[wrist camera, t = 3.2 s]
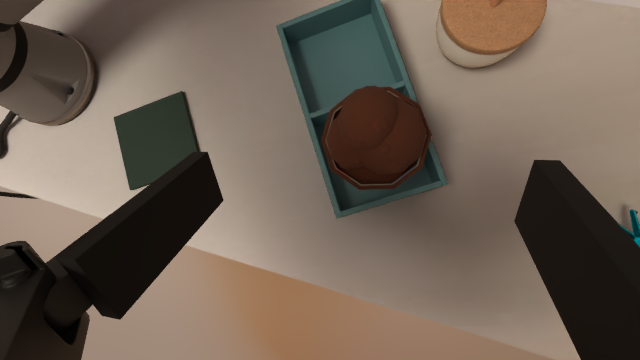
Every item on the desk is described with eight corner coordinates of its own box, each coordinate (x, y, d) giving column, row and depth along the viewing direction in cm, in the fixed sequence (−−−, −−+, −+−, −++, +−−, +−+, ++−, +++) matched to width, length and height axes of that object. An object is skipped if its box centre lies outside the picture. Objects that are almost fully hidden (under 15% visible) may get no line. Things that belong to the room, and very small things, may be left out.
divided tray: (339, 217, 40) (336, 218, 35) (285, 45, 43) (276, 25, 38) (437, 186, 38) (448, 184, 34) (373, 11, 42) (375, -14, 37)
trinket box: (431, 4, 41) (451, -56, 31) (514, 6, 39) (561, -57, 30) (423, 78, 40) (441, 39, 31) (507, 83, 38) (554, 44, 29)
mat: (132, 190, 45) (129, 190, 44) (116, 118, 46) (113, 117, 46) (203, 165, 43) (200, 165, 43) (184, 92, 45) (181, 91, 44)
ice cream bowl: (322, 182, 40) (299, 168, 25) (345, 105, 40) (336, 47, 25) (399, 205, 38) (423, 204, 23) (422, 124, 39) (460, 73, 24)
